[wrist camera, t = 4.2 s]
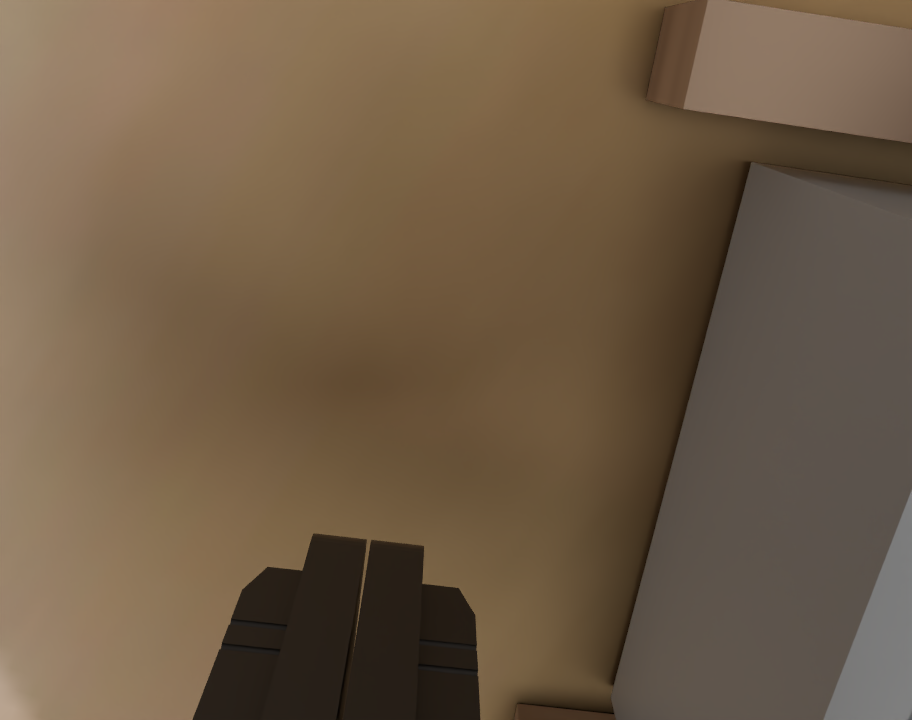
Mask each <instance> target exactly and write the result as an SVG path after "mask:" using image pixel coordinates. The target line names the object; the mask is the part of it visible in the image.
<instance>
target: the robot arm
mask: <svg viewBox="0 0 912 720" xmlns="http://www.w3.org/2000/svg"><path fill="white" fill-rule="evenodd" d="M366 543H367V540H366V539H357V538H348V537H340V536H331V535H322V534H313V536H312V539H311V543H310V546H309V550H308V553H307V557H306V560H305V564H304V567H303V571H299V570H290V569H281V568H273V567H267V568H266V569H265V570H264V571H263V572H262V573H260V574H259V575H258V576H257V577H256V578H255V579H254V580H253V581H252V582H250V583H249V584H248V585H247V586H246V587H245V588H244V589H243V590H242V592H241V594H240V597H239V600H238V602H237V605H236V608H235V610H234V613H233V615H232V618H231V623H230V625H229V626H228V628H227V631H226V634H225V636H224V639H223V642H222V646H221V649H219V652H218V655H217V657H216V660H215V662H214V665H213V668H212V670H211V673H210V676H209V678H208V681H207V683H206V686H205V689H204V691H203V694H202V696H201V699H200V702H199V704H198V707H197V710H196V712H195V715H194V717H193V720H480V704H479V683H478V676H477V673H478V662H477V651H476V646H477V641H476V621H475V614H474V612H473V611H472V609H471V608H470V606H469V604H468V603H467V601H466V599H465V598H464V596H463V595H462V593H461V591H460V590H459V588H453V587H444V586H435V585H426V584H422V578H423V558H424V546H420V545H411V544H402V543H394V542H385V541H376V540H371V545H370V551H369V557H368V564H367V570H366V577H365V583H364V589H363V596H362V602H361V608H360V615H359V621H358V627H357V620H358V611H359V603H360V594H361V586H362V578H363V569H364V561H365V552H366ZM356 628H357V634H356ZM355 636H356V640H355ZM354 644H355V647H354ZM353 651H354V653H353Z"/></svg>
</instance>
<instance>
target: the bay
mask: <svg viewBox="0 0 912 720" xmlns="http://www.w3.org/2000/svg"><path fill="white" fill-rule="evenodd" d="M646 100H648V101H652V102H656V103H661V104H665V105H669V106H673V107H677V108H681V109H687V110H694V111H700V112H707V113H714V114H720V115H727V116H734V117H741V118H747V119H754V120H761V121H767V122H774V123H781V124H787V125H794V126H801V127H807V128H814V129H821V130H827V131H834V132H841V133H847V134H854V135H861V136H867V137H874V138H881V139H888V140H894V141H901V142H908V143H912V29H906V28H900V27H894V26H887V25H881V24H874V23H868V22H862V21H855V20H849V19H843V18H836V17H830V16H823V15H817V14H811V13H804V12H798V11H792V10H785V9H779V8H772V7H766V6H760V5H753V4H747V3H741V2H734V1H728V0H695V1H691V2H687V3H682V4H678V5H673V6H669V7H665V12H664V16H663V21H662V26H661V30H660V35H659V40H658V45H657V49H656V54H655V59H654V63H653V68H652V73H651V77H650V82H649V87H648V92H647V96H646ZM514 720H616V718H615V714H606V713H597V712H588V711H579V710H570V709H561V708H552V707H543V706H534V705H525V704H517V707H516V711H515V716H514Z"/></svg>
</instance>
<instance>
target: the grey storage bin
mask: <svg viewBox="0 0 912 720" xmlns="http://www.w3.org/2000/svg"><path fill="white" fill-rule="evenodd" d="M611 701H612V705H613V709H614V713H615V718H616V720H912V185H905V184H898V183H891V182H885V181H878V180H871V179H864V178H857V177H851V176H844V175H837V174H830V173H823V172H817V171H810V170H803V169H796V168H789V167H783V166H776V165H769V164H762V163H755V162H751V166H750V170H749V174H748V177H747V181H746V185H745V189H744V193H743V196H742V200H741V204H740V208H739V212H738V215H737V219H736V223H735V227H734V231H733V234H732V238H731V242H730V246H729V250H728V253H727V257H726V261H725V265H724V269H723V272H722V276H721V280H720V284H719V288H718V291H717V295H716V299H715V303H714V307H713V310H712V314H711V318H710V322H709V326H708V329H707V333H706V337H705V341H704V345H703V348H702V352H701V356H700V360H699V364H698V367H697V371H696V375H695V379H694V383H693V386H692V390H691V394H690V398H689V402H688V405H687V409H686V413H685V417H684V421H683V424H682V428H681V432H680V436H679V440H678V443H677V447H676V451H675V455H674V459H673V462H672V466H671V470H670V474H669V478H668V481H667V485H666V489H665V493H664V497H663V500H662V504H661V508H660V512H659V515H658V519H657V523H656V527H655V531H654V534H653V538H652V542H651V546H650V550H649V553H648V557H647V561H646V565H645V569H644V572H643V576H642V580H641V584H640V588H639V591H638V595H637V599H636V603H635V607H634V610H633V614H632V618H631V622H630V626H629V629H628V633H627V637H626V641H625V645H624V648H623V652H622V656H621V660H620V664H619V667H618V671H617V675H616V679H615V683H614V686H613V690H612V694H611Z"/></svg>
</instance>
